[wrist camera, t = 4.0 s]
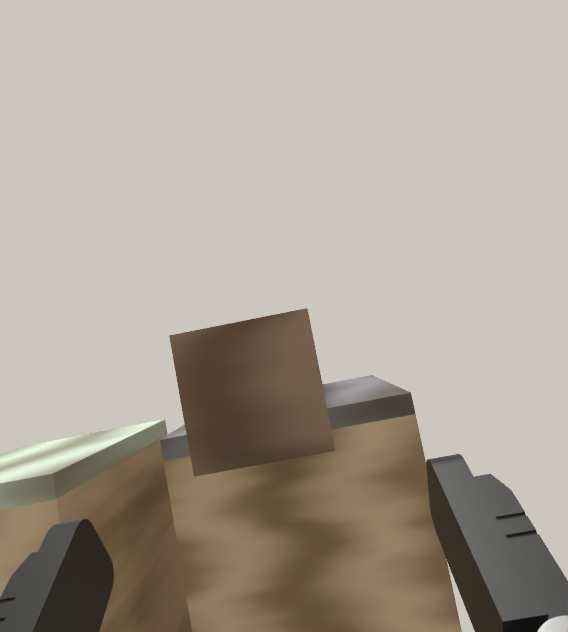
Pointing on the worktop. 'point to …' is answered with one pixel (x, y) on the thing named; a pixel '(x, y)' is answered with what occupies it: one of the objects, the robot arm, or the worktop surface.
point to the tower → (101, 517)
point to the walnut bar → (251, 393)
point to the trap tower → (317, 529)
